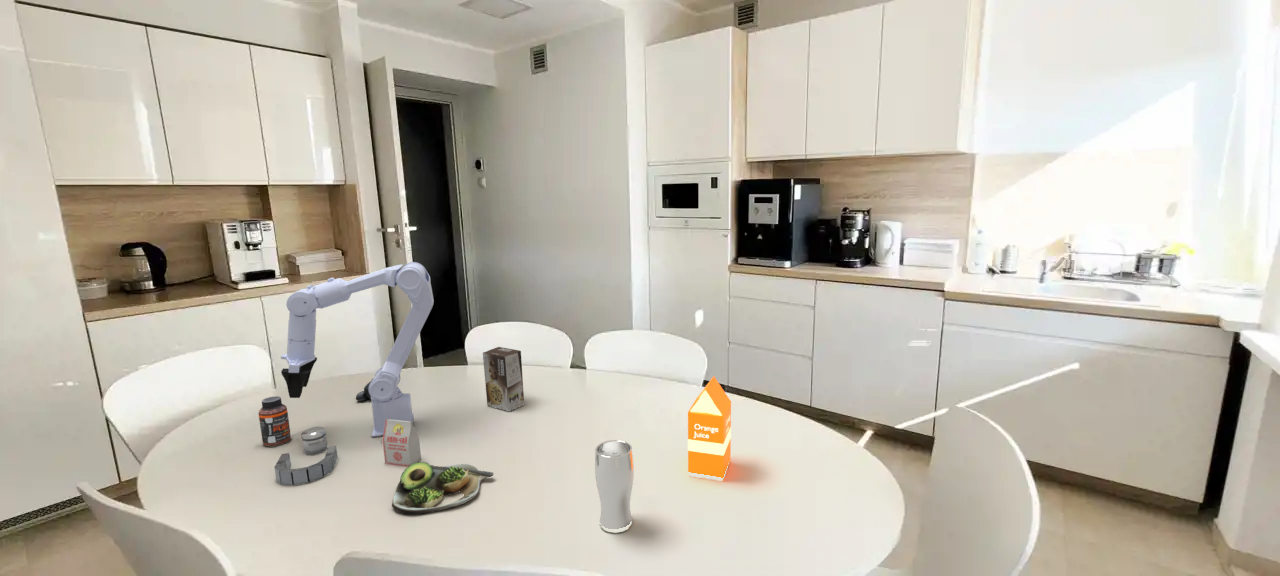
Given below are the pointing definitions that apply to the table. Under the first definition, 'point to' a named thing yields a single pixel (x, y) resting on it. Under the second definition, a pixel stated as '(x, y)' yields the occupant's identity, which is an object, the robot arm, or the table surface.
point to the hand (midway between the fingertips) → (298, 391)
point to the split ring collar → (304, 469)
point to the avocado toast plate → (435, 486)
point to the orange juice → (709, 431)
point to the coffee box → (503, 378)
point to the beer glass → (614, 482)
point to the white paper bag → (400, 443)
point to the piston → (314, 440)
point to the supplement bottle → (274, 422)
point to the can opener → (364, 393)
